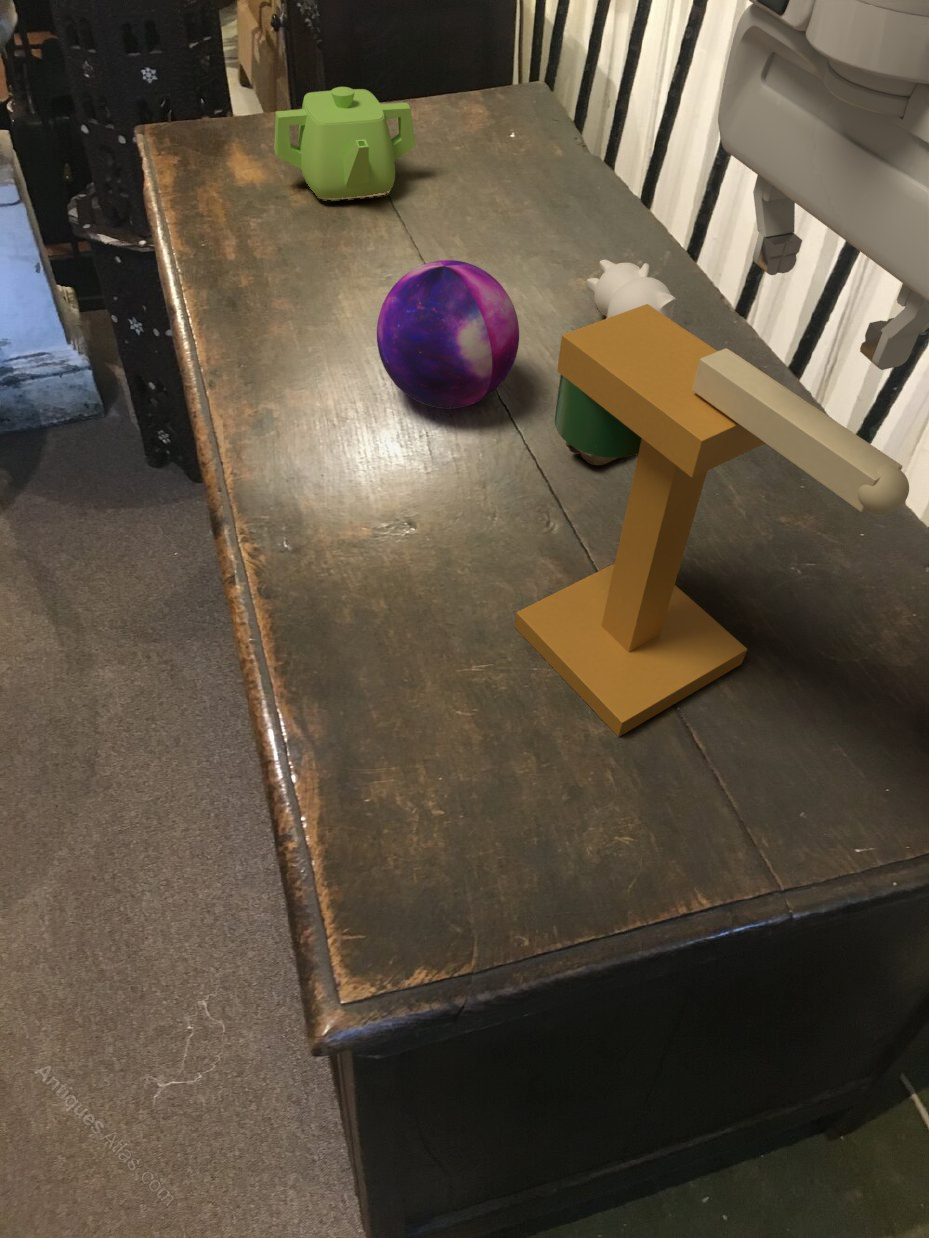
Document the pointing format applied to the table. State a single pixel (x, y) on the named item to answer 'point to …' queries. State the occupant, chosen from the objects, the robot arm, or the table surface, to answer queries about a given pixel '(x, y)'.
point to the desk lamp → (638, 520)
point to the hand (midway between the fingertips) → (823, 311)
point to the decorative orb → (448, 334)
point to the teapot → (345, 142)
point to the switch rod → (802, 433)
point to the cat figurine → (629, 290)
